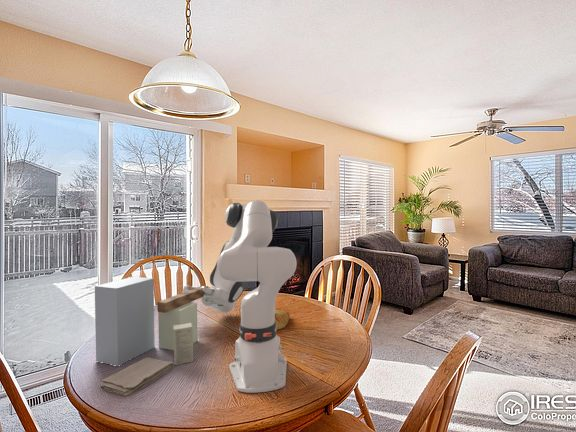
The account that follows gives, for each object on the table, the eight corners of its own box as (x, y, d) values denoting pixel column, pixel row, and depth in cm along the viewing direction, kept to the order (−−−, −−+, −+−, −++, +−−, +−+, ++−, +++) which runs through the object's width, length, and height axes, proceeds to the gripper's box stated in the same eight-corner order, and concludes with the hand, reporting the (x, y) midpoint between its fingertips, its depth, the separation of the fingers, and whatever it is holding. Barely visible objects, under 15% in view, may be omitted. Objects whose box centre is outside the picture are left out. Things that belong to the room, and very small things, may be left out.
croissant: (272, 343, 127) (279, 327, 125) (253, 328, 130) (260, 313, 129) (292, 324, 146) (299, 310, 145) (275, 312, 150) (281, 298, 148)
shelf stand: (134, 343, 120) (133, 276, 119) (154, 346, 116) (153, 278, 116) (96, 362, 105) (94, 286, 104) (117, 367, 101) (116, 288, 101)
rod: (201, 293, 135) (201, 285, 135) (208, 294, 134) (208, 286, 134) (157, 311, 111) (157, 302, 111) (165, 312, 110) (165, 303, 109)
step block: (177, 337, 125) (176, 300, 125) (197, 340, 121) (197, 302, 121) (158, 347, 116) (158, 307, 115) (180, 351, 112) (179, 310, 112)
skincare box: (192, 356, 108) (192, 322, 108) (193, 362, 104) (193, 326, 104) (173, 359, 106) (173, 324, 106) (173, 365, 102) (173, 329, 102)
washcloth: (97, 390, 89) (97, 379, 89) (147, 362, 105) (147, 353, 105) (126, 399, 84) (126, 388, 84) (174, 368, 101) (174, 359, 101)
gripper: (194, 288, 144) (177, 278, 133) (233, 291, 137) (217, 282, 126) (190, 301, 141) (172, 293, 130) (229, 306, 134) (213, 297, 123)
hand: (194, 287), depth 128 cm, fingers open, 6 cm apart
